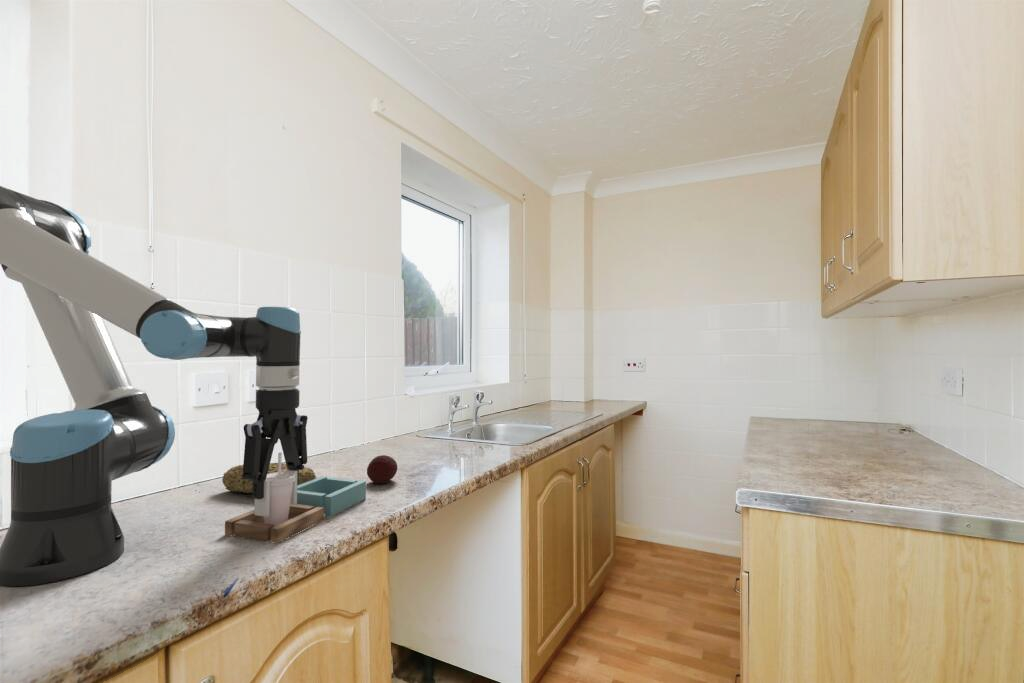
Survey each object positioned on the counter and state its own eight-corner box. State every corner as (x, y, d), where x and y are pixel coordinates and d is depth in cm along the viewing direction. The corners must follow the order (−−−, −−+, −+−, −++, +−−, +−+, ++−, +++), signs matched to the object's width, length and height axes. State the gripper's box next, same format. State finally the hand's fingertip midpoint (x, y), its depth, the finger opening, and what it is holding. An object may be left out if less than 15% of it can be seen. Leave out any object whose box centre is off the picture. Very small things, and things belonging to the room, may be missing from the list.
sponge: (215, 501, 111) (278, 493, 104) (217, 466, 113) (279, 456, 106) (265, 495, 123) (324, 488, 116) (265, 464, 125) (324, 455, 118)
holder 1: (277, 543, 85) (277, 529, 85) (224, 534, 88) (225, 521, 88) (324, 520, 96) (324, 507, 96) (275, 513, 100) (275, 501, 100)
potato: (401, 478, 127) (401, 451, 127) (391, 487, 118) (391, 458, 119) (374, 477, 127) (374, 450, 128) (362, 486, 119) (362, 458, 119)
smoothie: (301, 525, 93) (302, 452, 93) (269, 536, 88) (271, 459, 88) (281, 518, 97) (282, 448, 97) (250, 528, 91) (251, 454, 91)
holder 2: (330, 516, 98) (330, 496, 98) (282, 510, 102) (283, 491, 102) (365, 498, 109) (365, 481, 109) (321, 493, 113) (321, 476, 113)
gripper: (252, 393, 82) (250, 529, 82) (328, 384, 100) (326, 496, 100) (218, 391, 84) (216, 524, 84) (298, 383, 103) (297, 492, 102)
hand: (276, 508), depth 92 cm, fingers closed on smoothie, 6 cm apart
